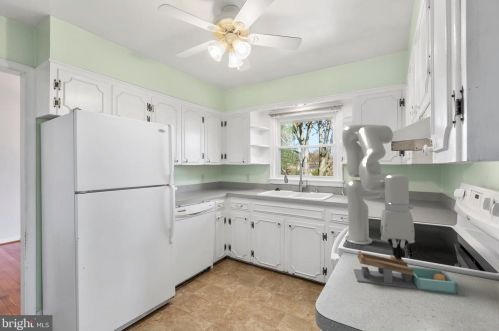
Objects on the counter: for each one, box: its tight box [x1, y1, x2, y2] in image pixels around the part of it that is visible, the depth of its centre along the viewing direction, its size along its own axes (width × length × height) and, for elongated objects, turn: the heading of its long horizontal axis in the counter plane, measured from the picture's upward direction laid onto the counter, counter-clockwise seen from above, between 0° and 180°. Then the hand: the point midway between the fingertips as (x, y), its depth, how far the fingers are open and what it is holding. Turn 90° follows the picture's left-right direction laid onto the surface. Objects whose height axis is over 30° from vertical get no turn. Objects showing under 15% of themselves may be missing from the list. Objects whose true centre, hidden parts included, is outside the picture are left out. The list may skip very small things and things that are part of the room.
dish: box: [408, 266, 459, 295], centre depth 76 cm, size 9×10×3 cm
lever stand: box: [353, 266, 418, 290], centre depth 80 cm, size 9×17×5 cm, turn 73°
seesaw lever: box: [357, 250, 414, 276], centre depth 83 cm, size 13×16×3 cm
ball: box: [434, 274, 446, 281], centre depth 75 cm, size 3×3×3 cm
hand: (397, 257), depth 86 cm, fingers closed
